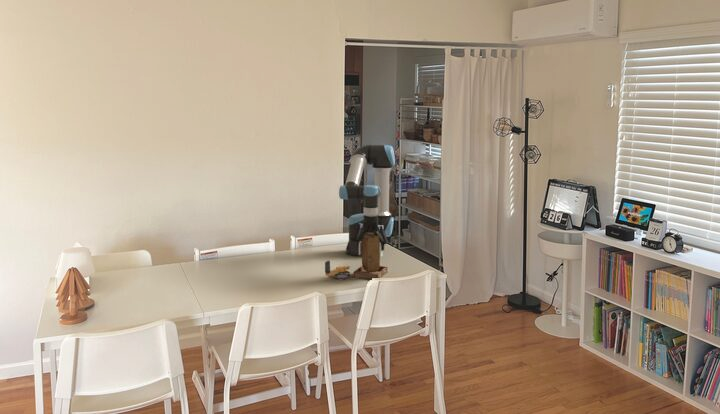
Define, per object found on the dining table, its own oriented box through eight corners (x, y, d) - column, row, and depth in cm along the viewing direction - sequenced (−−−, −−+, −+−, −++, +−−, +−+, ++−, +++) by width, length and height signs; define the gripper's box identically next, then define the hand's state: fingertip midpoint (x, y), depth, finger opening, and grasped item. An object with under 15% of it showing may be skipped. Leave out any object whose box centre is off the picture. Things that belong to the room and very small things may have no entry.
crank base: (335, 272, 334) (335, 267, 333) (353, 275, 330) (353, 269, 330) (328, 278, 325) (328, 273, 324) (345, 280, 321) (345, 275, 320)
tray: (364, 269, 340) (364, 264, 339) (387, 272, 335) (387, 266, 334) (353, 277, 326) (353, 271, 326) (377, 280, 321) (377, 274, 321)
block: (380, 272, 327) (381, 235, 323) (368, 273, 324) (368, 236, 320) (372, 266, 336) (372, 230, 332) (359, 268, 333) (359, 232, 329)
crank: (344, 267, 333) (344, 254, 331) (351, 269, 330) (351, 255, 328) (322, 275, 320) (322, 261, 318) (329, 277, 317) (329, 262, 315)
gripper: (347, 214, 325) (347, 254, 329) (389, 218, 316) (389, 259, 321) (352, 211, 332) (352, 251, 336) (394, 215, 323) (394, 255, 328)
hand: (370, 255), depth 328 cm, fingers closed on block, 11 cm apart
